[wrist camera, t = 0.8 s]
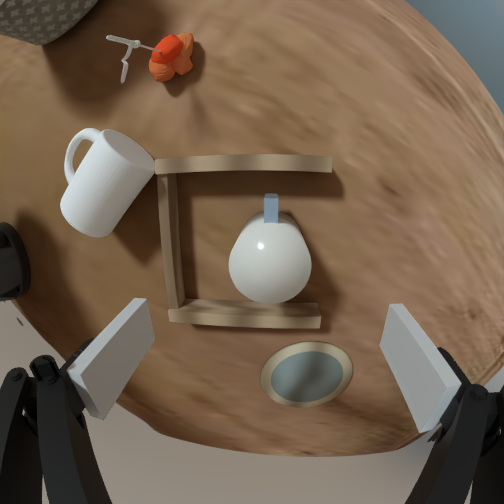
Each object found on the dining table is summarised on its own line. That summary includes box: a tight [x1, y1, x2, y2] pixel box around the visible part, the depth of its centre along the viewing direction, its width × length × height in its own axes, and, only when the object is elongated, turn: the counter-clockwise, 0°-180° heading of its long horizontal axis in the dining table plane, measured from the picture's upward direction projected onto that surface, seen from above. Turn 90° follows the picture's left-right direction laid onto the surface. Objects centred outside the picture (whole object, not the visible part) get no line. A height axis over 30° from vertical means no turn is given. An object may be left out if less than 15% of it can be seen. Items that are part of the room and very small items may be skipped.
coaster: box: [261, 341, 353, 408], centre depth 37 cm, size 14×14×1 cm
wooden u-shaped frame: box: [155, 154, 332, 328], centre depth 30 cm, size 18×19×4 cm
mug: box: [60, 128, 155, 237], centre depth 27 cm, size 12×10×8 cm
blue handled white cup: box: [229, 193, 311, 304], centre depth 27 cm, size 7×9×9 cm
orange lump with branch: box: [106, 33, 194, 83], centre depth 20 cm, size 6×10×12 cm, turn 146°
